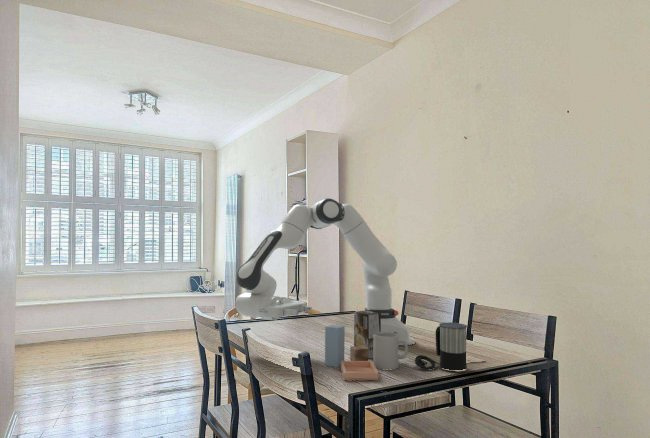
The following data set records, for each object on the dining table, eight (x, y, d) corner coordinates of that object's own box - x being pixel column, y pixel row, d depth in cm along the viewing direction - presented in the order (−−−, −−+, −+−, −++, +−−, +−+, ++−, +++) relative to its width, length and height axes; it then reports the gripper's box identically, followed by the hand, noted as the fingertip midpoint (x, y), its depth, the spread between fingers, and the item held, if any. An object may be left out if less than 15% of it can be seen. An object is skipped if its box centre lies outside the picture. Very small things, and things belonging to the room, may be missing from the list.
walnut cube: (363, 359, 162) (363, 345, 162) (368, 363, 157) (368, 348, 157) (350, 360, 160) (350, 346, 161) (355, 364, 156) (355, 349, 156)
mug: (376, 370, 147) (376, 337, 148) (370, 363, 156) (370, 332, 156) (411, 370, 149) (411, 336, 149) (404, 363, 157) (404, 331, 158)
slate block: (331, 361, 158) (331, 324, 159) (344, 363, 156) (344, 326, 156) (324, 365, 153) (325, 327, 154) (337, 367, 151) (338, 328, 152)
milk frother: (473, 370, 149) (473, 325, 150) (442, 377, 140) (441, 330, 141) (440, 360, 161) (440, 319, 162) (409, 367, 152) (409, 323, 153)
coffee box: (381, 356, 166) (381, 313, 167) (368, 359, 162) (368, 314, 163) (365, 351, 173) (365, 310, 174) (352, 353, 170) (353, 311, 171)
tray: (372, 368, 150) (372, 360, 150) (378, 380, 136) (378, 372, 136) (340, 368, 149) (340, 360, 150) (343, 380, 136) (343, 372, 136)
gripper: (256, 302, 159) (288, 305, 152) (287, 297, 177) (318, 299, 170) (255, 319, 158) (288, 323, 152) (287, 313, 176) (317, 316, 170)
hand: (304, 311), depth 161 cm, fingers open, 8 cm apart
